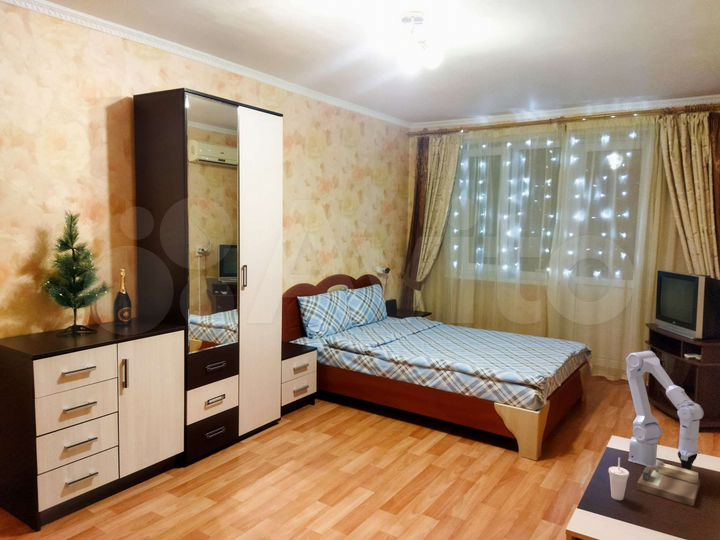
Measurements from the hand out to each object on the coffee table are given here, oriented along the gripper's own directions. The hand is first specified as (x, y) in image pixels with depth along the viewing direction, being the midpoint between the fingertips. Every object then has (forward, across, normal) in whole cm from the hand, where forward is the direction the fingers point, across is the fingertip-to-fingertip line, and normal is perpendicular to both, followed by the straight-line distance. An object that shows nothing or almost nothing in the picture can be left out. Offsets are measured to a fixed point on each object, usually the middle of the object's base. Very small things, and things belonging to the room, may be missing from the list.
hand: (686, 472), depth 189 cm
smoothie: (+4, -29, +16) cm, 33 cm away
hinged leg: (+1, -4, +3) cm, 5 cm away
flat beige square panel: (+3, -10, +4) cm, 11 cm away
